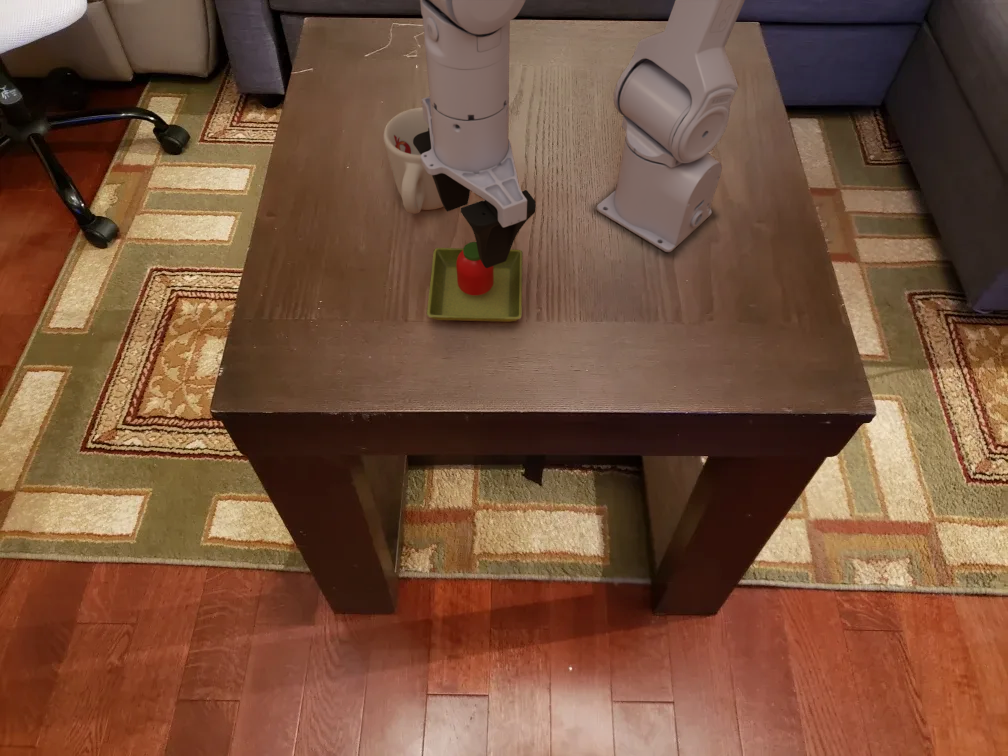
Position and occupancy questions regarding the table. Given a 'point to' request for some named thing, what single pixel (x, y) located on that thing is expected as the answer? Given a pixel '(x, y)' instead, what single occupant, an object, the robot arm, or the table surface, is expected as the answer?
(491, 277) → the strawberry
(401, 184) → the cup
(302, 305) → the table surface
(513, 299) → the green square tray
